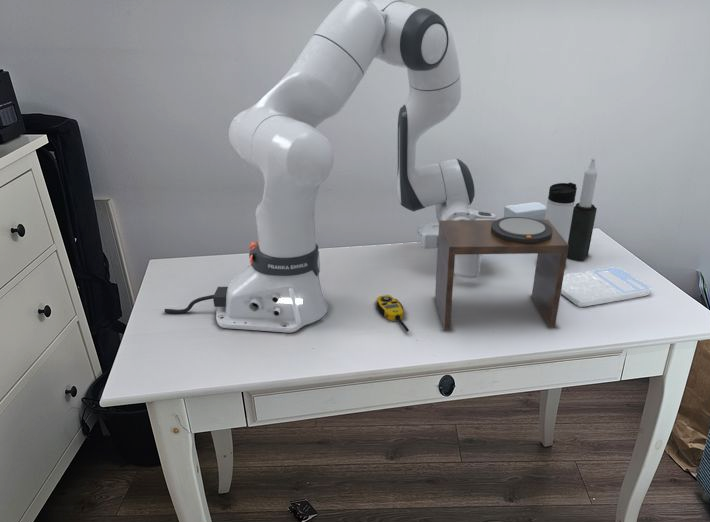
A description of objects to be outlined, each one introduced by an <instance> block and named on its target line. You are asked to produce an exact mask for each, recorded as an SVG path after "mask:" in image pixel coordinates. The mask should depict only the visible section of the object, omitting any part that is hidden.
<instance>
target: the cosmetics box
mask: <svg viewBox="0 0 710 522" xmlns="http://www.w3.org/2000/svg"><path fill="white" fill-rule="evenodd" d="M546 208H547V205H546V204H544V203H542V202H539V201H534V202H525V203H517V204H510V205H504V207H503V217H502V218H507V217H525V218H531V219H536V220H545V215H546Z"/></svg>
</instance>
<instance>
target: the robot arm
mask: <svg viewBox="0 0 710 522" xmlns="http://www.w3.org/2000/svg"><path fill="white" fill-rule="evenodd" d="M374 59H378V60H380V61H383V62H384V63H386V64H388V65H391V66H394V67H399V68H404V69H406V70H407V79H408V87H409V88H408V89H409V91H408V96H407V99H406V101H405V103H404V104H403V105H402V106H401V107H400V108H399V110H398V116H397V175H396V183H395V192H396V196H397V200H398V202H399V203H400V206H402V207H403V208H405V209H406V210H409V211H410V212H413V213H414V212H416V211H420V210H423V209H426V208H428V207H432V206H435V215H436V220H437V222H427V223H424V224H422V226H419V227H417V230H416V231H417V234H418V235H419V236H420V245H421V248H424V249H438V232H439V220H497V215H496V214H495V213H491V212H485V211H484V212H483V211H480V210H475V209H472V208H471V205H472V203H473V201H474V198H475V194H476V191H475V183H474V179H473V176H472V174H471V171H470V169H469V166H468V165H467V164H466V163H464V161H462V160H461V159H459V158H453V159H448V160H443V161H439V162H436V163H432V164H427V165H422V166H416V149H417V147H416V146H417V143H418V141H419V139H420V138H421V137H422V136H423V135H424V134H425V133H426V132H428V131H429V130H430V129H432V128H433V127H435V126H437V125H438V124H440V123H442V122H443V121H445V120H446V119H448V118H449V117H450V116H451V115H452V114H453V113H454V112H455V110H456V109H457V107H458V105H459V103H460V101H461V97H462V77H461V70H460V69H461V68H460V62H459V57H458V52H457V47H456V44H455V40H454V37H453V34H452V31H451V29H450V28H449V26H447V24H446V22H445V20H444V19H443V18H442V17H441V16H440V15H439V14H438V13H436V12H435V11H434V10H431V9H429V8H426V7H419V6H418V5H415V4H412V3H409V2H407V1H406V0H405V1H404V0H341V1H340V2H339V3H338V4H337V5H336V6H335V7H334V8H333V9H332V10H331V11H330V12H329V13H328V14H327V16H326V17H325V18H324V19H323V21H322V22H321V23H320V25H319V26H318V27H317V29H316V30H315V31H314V33H313V34H312V35H311V37H310V39H309V40H308V42H307V43H306V45H305V46H304V48H303V49H302V51H301V52H300V54H299V56H298V57H297V58H296V60H295V62H294V63H293V64H292V66H291V67H290V68H289V70H288V71H287V72H286V74H285V75H284V76H283V77H282V78H281V79H280V80H279V81H278V82H277V83H276V84H274V86H272V88H271V89H270V90H269V91H267V93H265V95H263V96H262V97H261V98H260V99H259V100H258V101H257V102H256V103H255V104H253V105H252V106H251V107H248V108H247V109H245V110H242V111H240V112H238V113H237V115H235V116H234V118H233V119H232V121H231V123H230V125H229V129H228V140H229V144H230V147H231V148H232V150H233V152H234V153H235V154H236V155H237V156H238V157H239V159H240V160H241V161H242V162H243V163H244V164H245V165H247V166H248V167H250V168H252V169H254V170H256V171H259V172H260V173H261V174H262V176H263V193H262V199H261V201H260V202H259V203H258V204H257V206H256V208H255V212H254V216H255V223H256V234H257V241H251V243H250V244H249V247H248V250H249V253H248V257H249V265H248V266H247V267H245V268H244V269H243V270H241V271H240V272H239V273H237V274H236V275H234V277H233V278H232V279H231V281H230V282H229V284H228V286H217V288H216V290H215V292H214V293H213V294H209V295H205V296H201V297H198V298H195V299H193V300H192V301H191V302H190V303H189V304H188V305H187V306H186V308H182V309H173V308H164V313H167V314H185V313H187V312H189V311H191V309H192V308H193V307H194V305H196V304H198V303H200V302H203V301H207V300H213V304H214V305H213V307H214V308H216V312H215V320H216V323H217V325H218V326H219V327H220V328H223V329H231V330H246V331H247V330H248V331H262V332H276V333H290V334H291V333H295V332H297V331H298V330H301V328H303V327H305V326H307V325H311V324H313V323H316V322H318V321H319V320H321V319H322V318H323V317H325V315H326V314H327V312H328V309H329V307H328V304H327V301H326V299H325V297H324V292H323V288H322V284H321V283H322V282H321V279H320V278H321V277H320V272H321V262H320V261H321V259H320V250H319V245H318V244H317V239H316V238H317V237H316V218H315V217H316V215H315V213H316V212H315V209H316V202H317V198H318V193H319V188H320V186H321V185H322V184H323V183H324V182H325V181H326V180H327V179H328V178H329V176H330V174H331V173H332V170H333V167H334V161H335V156H334V155H335V154H334V150H333V147H332V145H331V142H330V141H329V139H328V138H327V137H326V136H324V134H322V133H321V132H320V131H319V130H318V129H316V128H317V127H318V126H319V125H320V124H322V123H323V122H324V121H326V120H328V119H330V118H333V117H336V115H338V114H339V113H340V112H341V111H342V110H343V108H344V107H345V106H346V104H347V102H348V101H349V100H350V98H351V96H352V95H353V93H354V92H355V91H356V88H357V87H358V85H359V84H360V83H361V81H362V80H363V78H364V76H365V75H366V73H367V72H368V70H369V68H370V67H371V64H372V63H373V61H374Z"/></svg>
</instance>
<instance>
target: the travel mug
mask: <svg viewBox="0 0 710 522" xmlns="http://www.w3.org/2000/svg"><path fill="white" fill-rule="evenodd" d="M577 189H578V187H577V184H576V183H573V182H571V181H569V182H568V183H567V182H558V183H554V184H552V185H550V186H549V189H548V197H547V200H546V201H547V202H546V206H547V208H546V215H545V220H549V221H550V223H551V224H552V225H553V226H554V228H555V229H556V230H557V231H558V233H559V234H560V235H561V236H562V238H563V239H564V240H565V241H566V242H567V244H568V239H569V233H570V227H571V221H572V215H573V209H574V207H575V204H576V196H577V195H576V194H577Z"/></svg>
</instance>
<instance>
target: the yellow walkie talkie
mask: <svg viewBox="0 0 710 522" xmlns="http://www.w3.org/2000/svg"><path fill="white" fill-rule="evenodd" d="M376 309H377V311H378V312H379V314H380V315H381V316H382V317H385V318H386V319H387V320H388V321H392V322H396V321H398V323H399V324H400V326H401V327H402V328H403V329H404V331H405V332H406V333H409V332H410V329H409V328H408V327H407V325H406V324H405V323H404V321H403V319H404V306H403V305H402V303H401V302H400V301H399V299H397V298H395V297H393V296H392V295H390V294H384V295H379V296H377V297H376Z"/></svg>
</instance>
